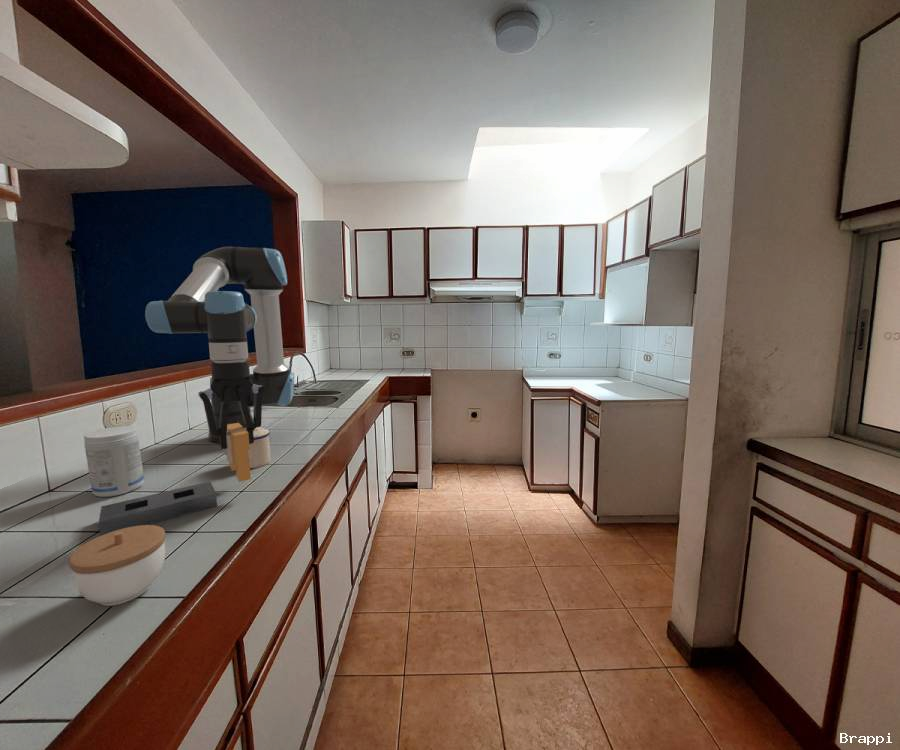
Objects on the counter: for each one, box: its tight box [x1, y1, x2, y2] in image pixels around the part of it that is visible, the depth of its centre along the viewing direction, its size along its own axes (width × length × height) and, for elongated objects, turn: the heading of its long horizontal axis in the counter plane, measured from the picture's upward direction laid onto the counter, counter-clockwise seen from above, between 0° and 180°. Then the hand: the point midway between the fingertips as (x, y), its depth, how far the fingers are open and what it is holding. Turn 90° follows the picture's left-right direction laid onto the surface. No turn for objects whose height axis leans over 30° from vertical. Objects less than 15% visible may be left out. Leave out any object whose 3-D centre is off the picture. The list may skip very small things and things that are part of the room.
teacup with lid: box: [222, 426, 271, 469], centre depth 107 cm, size 12×9×12 cm
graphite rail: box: [98, 480, 218, 537], centre depth 80 cm, size 8×19×3 cm, turn 130°
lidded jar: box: [68, 524, 167, 607], centre depth 56 cm, size 11×11×9 cm
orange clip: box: [227, 423, 252, 483], centre depth 88 cm, size 10×3×11 cm, turn 40°
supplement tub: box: [83, 425, 145, 498], centre depth 90 cm, size 10×10×15 cm
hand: (238, 458), depth 89 cm, fingers closed on orange clip, 3 cm apart
